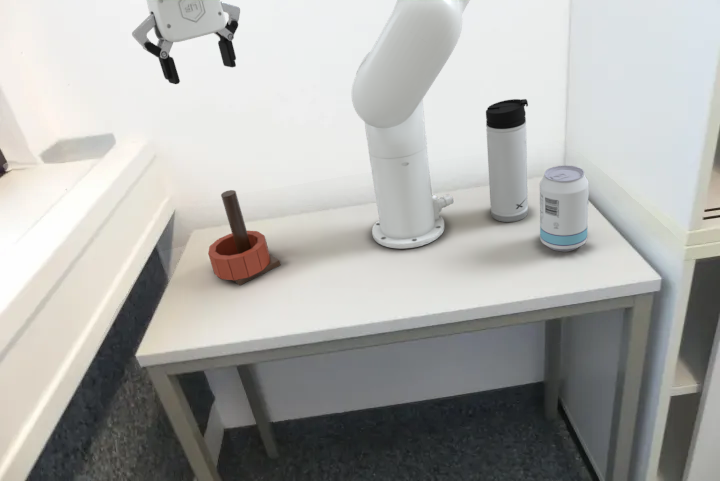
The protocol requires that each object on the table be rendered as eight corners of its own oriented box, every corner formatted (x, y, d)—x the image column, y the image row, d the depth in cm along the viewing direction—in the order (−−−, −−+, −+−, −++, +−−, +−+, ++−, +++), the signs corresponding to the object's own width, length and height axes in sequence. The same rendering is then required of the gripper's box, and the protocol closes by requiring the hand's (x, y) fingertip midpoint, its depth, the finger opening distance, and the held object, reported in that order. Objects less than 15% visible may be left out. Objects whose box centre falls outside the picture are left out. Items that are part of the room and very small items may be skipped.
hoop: (253, 245, 107) (248, 225, 105) (280, 262, 100) (274, 241, 98) (205, 267, 103) (199, 247, 101) (230, 286, 96) (223, 265, 94)
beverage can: (596, 248, 91) (598, 175, 85) (553, 259, 90) (554, 186, 84) (572, 229, 97) (573, 160, 91) (532, 239, 96) (531, 170, 90)
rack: (258, 250, 107) (238, 178, 101) (281, 265, 101) (261, 190, 95) (218, 269, 103) (195, 196, 97) (239, 285, 98) (216, 209, 91)
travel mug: (530, 221, 101) (528, 106, 92) (490, 223, 103) (484, 110, 93) (529, 205, 106) (527, 94, 97) (491, 206, 108) (485, 98, 98)
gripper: (119, -34, 80) (159, 92, 88) (234, -56, 88) (261, 62, 96) (103, -32, 85) (142, 87, 93) (212, -53, 93) (240, 58, 102)
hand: (203, 74), depth 95 cm, fingers open, 9 cm apart
